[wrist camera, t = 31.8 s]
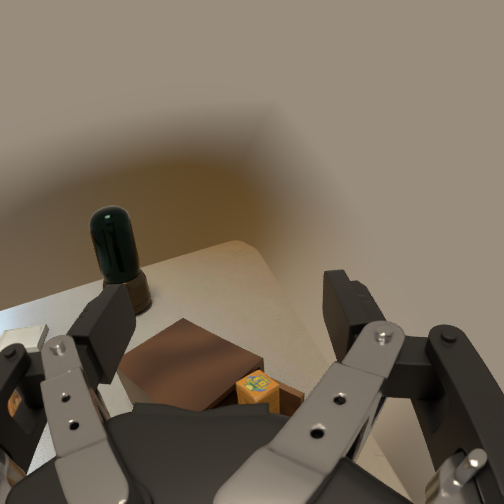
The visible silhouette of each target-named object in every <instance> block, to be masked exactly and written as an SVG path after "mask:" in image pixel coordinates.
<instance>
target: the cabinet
mask: <svg viewBox="0 0 504 504" xmlns="http://www.w3.org/2000/svg"><path fill="white" fill-rule="evenodd" d="M255 370H256V371H257V370H261V371H262V372H263V373H264V361H263V358H262V357H260V356H258V355H255V354H253V353H251V352H249V351H247V350H245V349H243V348H241V347H239V346H237V345H235V344H233V343H231V342H229V341H227V340H225V339H223V338H221V337H219V336H217V335H215V334H213V333H211V332H209V331H207V330H205V329H203V328H201V327H199V326H197V325H195V324H193V323H192V322H190V321H188V320H186V319H184V318H182V319H181V320H179V321H177V322H176V323H174V324H173V325H171V326H169V327H168V328H166V329H165V330H163V331H161V332H160V333H158V334H157V335H155V336H153V337H152V338H150V339H149V340H147V341H145V342H144V343H142V344H140V345H139V346H137V347H136V348H134V349H132V350H131V351H129V352H127V353H126V354H124V355H123V357H122V359H121V362H120V364H119V366H118V368H117V371H116V372H117V374H118V376H119V378H120V380H121V382H122V384H123V386H124V389H125V391H126V393H127V395H128V397H129V399H130V401H131V403H132V404H133V405H134V404H135V402H138V403H154V404H167V405H171V406H175V407H179V408H183V409H187V410H191V411H197V412H199V411H205V410H210V409H212V408H213V407H214V406H215V405H216V404H218V403H219V402H220V401H221V400H222V399H223V398H225V397H226V396H227V395H228V394H229V393H230V392H232V391H233V390H234V389H235V388H236V382H238V381H239V380H241V379H243V378H244V377H246V376H248V375H250V374H252V373H253V372H254V371H255Z"/></svg>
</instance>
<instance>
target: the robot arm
mask: <svg viewBox="0 0 504 504" xmlns="http://www.w3.org/2000/svg"><path fill="white" fill-rule="evenodd" d="M323 317H324V321H325V324H326V327H327V330H328V333H329V337H330V340H331V343H332V346H333V349H334V352H335V355H336V359H337V361H335V362H334V363H332V365H331V366H330V367H329V368H328V370H327V371H326V373H325V374H324V375H323V377H322V378H321V379H320V381H319V382H318V383H317V385H316V386H315V387H314V389H313V390H312V391H311V393H310V394H309V395H308V397H307V398H306V399H305V401H304V402H303V403H302V404H301V406H300V407H299V408H298V409H297V411H296V412H295V413H294V414H293V416H292V417H288V416H285V415H281V414H277V413H271V412H269V403H254V404H233V405H229V406H224V407H220V408H215V409H210V410H205V411H199V412H197V411H191V410H187V409H183V408H179V407H175V406H171V405H167V404H154V403H138V402H135V404H134V407H133V410H132V412H128V413H123V414H120V415H117V416H115V417H112V418H111V417H110V414H109V412H108V410H107V408H106V406H105V403H104V401H103V399H102V396H101V394H100V392H99V390H98V388H97V387H98V384H99V383H100V384H111V382H112V380H113V378H114V375H115V373H116V371H117V368H118V366H119V364H120V362H121V359H122V357H123V355H124V353H125V350H126V348H127V346H128V344H129V342H130V339H131V337H132V335H133V333H134V331H135V328H136V318H135V314H134V310H133V307H132V304H131V300H130V297H129V294H128V290H127V288H126V286H125V285H124V284H114V285H106V287H105V288H104V289H103V291H102V292H101V293H100V295H99V296H98V297H96V298H95V299H93V300H92V301H91V302H89V303H88V304H87V306H86V307H85V308H84V310H83V312H82V313H81V314H80V315H79V318H77V320H76V321H75V322H74V324H73V325H72V327H71V328H70V330H69V331H68V332H67V334H66V335H60V336H56V337H53V338H52V339H50V340H48V341H47V342H46V343H45V344H44V345H43V347H42V349H41V352H36V353H30V354H28V352H27V350H26V348H25V347H24V345H23V344H21V343H14V344H11V345H8V346H7V347H5V348H4V349H2V350H1V352H0V504H413V503H412V502H411V501H410V500H408V499H407V498H405V497H404V496H402V495H401V494H399V493H398V492H396V491H395V490H393V489H392V488H390V487H389V486H387V485H386V484H384V483H383V482H381V481H380V480H378V479H377V478H375V477H374V476H373V475H371V474H370V473H368V472H367V471H366V470H364V469H363V468H361V467H360V466H359V465H357V464H356V463H355V461H356V460H357V458H358V456H359V454H360V452H361V450H362V448H363V446H364V444H365V442H366V440H367V438H368V436H369V434H370V432H371V430H372V428H373V426H374V424H375V422H376V420H377V418H378V416H379V414H380V412H381V410H382V408H383V406H384V404H385V402H386V400H387V398H388V397H393V398H410V399H411V402H412V404H413V407H414V410H415V413H416V415H417V418H418V421H419V424H420V427H421V429H422V432H423V435H424V438H425V441H426V444H427V447H428V450H429V453H430V456H431V459H432V463H433V466H434V469H435V472H436V473H435V474H434V475H433V477H432V478H431V479H430V480H429V482H428V484H427V486H426V489H425V497H426V501H425V504H504V394H503V392H502V391H501V389H500V387H499V386H498V384H497V382H496V381H495V379H494V378H493V376H492V374H491V372H490V371H489V369H488V368H487V366H486V365H485V363H484V362H483V360H482V358H481V357H480V355H479V354H478V352H477V351H476V349H475V348H474V346H473V345H472V343H471V342H470V341H469V339H468V338H467V336H466V335H465V333H464V332H463V331H462V330H460V329H459V328H457V327H454V326H451V325H438V326H435V327H433V328H432V329H431V330H430V332H429V335H428V337H411V336H406V335H405V333H404V331H403V329H402V328H401V327H400V326H398V325H396V324H394V323H392V322H389V321H386V319H385V317H384V316H383V314H382V312H381V311H380V309H379V307H378V305H377V304H376V302H375V301H374V299H373V297H372V296H371V294H370V292H369V291H368V289H367V287H366V286H365V285H363V284H361V283H360V282H359V281H350V280H349V278H348V277H347V275H346V273H345V271H344V270H331V271H325V272H324V280H323ZM14 390H16V391H17V393H18V394H19V396H20V397H21V399H22V400H21V402H20V404H19V406H18V408H17V410H16V412H15V414H14V416H13V417H12V416H11V415H10V413H9V411H8V401H9V399H10V397H11V396H12V394H13V392H14ZM47 421H48V425H49V429H50V433H51V437H52V441H53V445H54V449H55V452H56V456H55V457H54V458H52V459H51V460H49V461H48V462H46V463H45V464H44V465H42V466H41V467H39V468H38V469H36V470H35V471H33V472H32V473H30V474H29V475H27V472H28V469H29V466H30V464H31V461H32V458H33V456H34V453H35V450H36V448H37V445H38V443H39V440H40V438H41V435H42V433H43V430H44V428H45V426H46V423H47ZM26 475H27V476H26Z"/></svg>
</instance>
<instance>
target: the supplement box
mask: <svg viewBox="0 0 504 504" xmlns="http://www.w3.org/2000/svg"><path fill="white" fill-rule="evenodd" d="M236 388H237V396H238V404H254V403H269V412H271V413H277V414H279V384H278V383H277V382H275V381H274V380H273V379H271V378H270V377H269V376H267V375H266V374H265V373H263V372H262V371H261V370H257V371H255V372H253V373H252V374H250V375H248V376H246V377H244V378H243V379H241V380H239V381H238V382H236Z"/></svg>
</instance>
